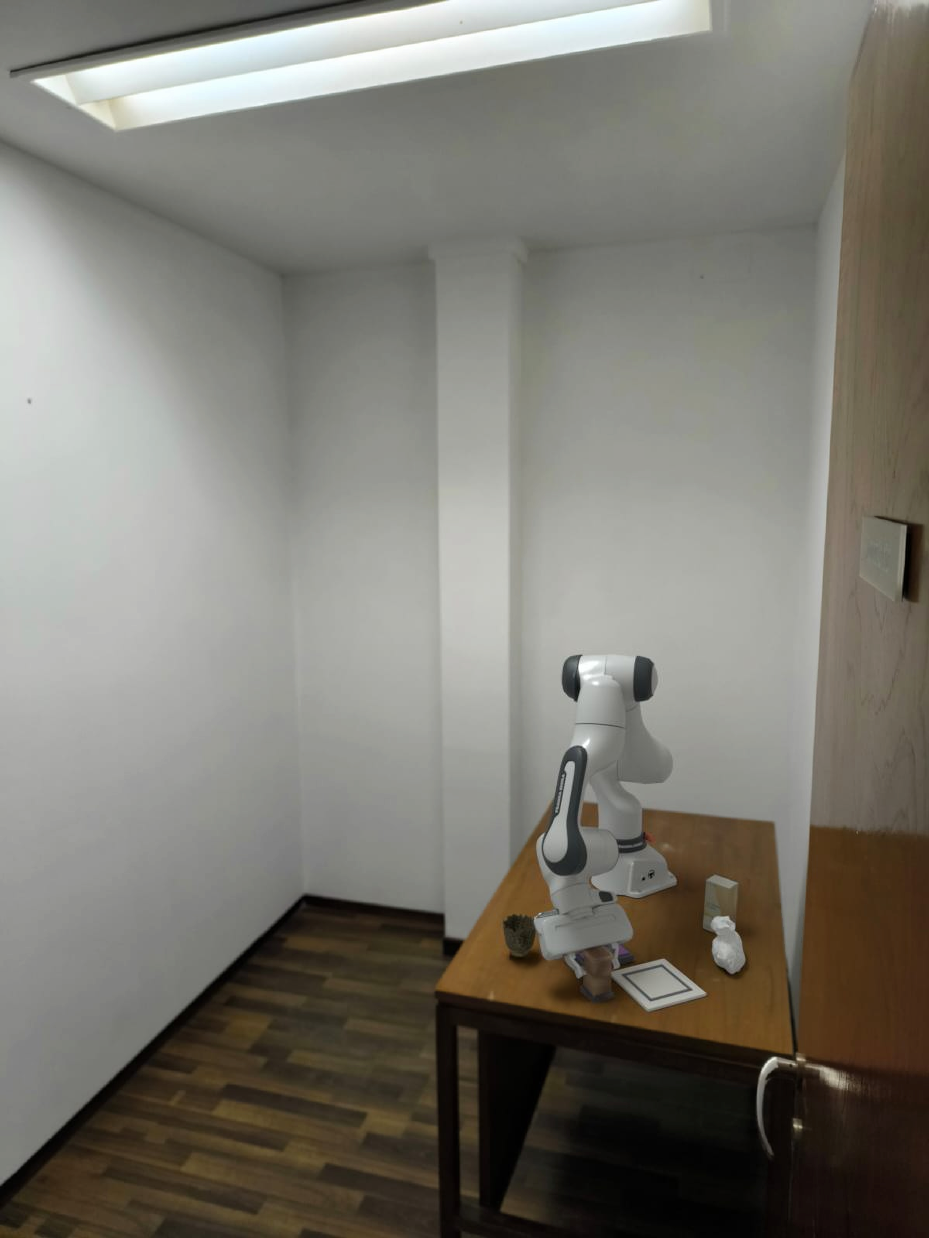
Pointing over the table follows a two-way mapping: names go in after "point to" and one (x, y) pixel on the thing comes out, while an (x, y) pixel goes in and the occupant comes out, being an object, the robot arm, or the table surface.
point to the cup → (519, 934)
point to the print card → (657, 985)
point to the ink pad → (623, 952)
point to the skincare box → (719, 900)
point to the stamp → (597, 974)
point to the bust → (727, 945)
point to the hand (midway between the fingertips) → (599, 972)
